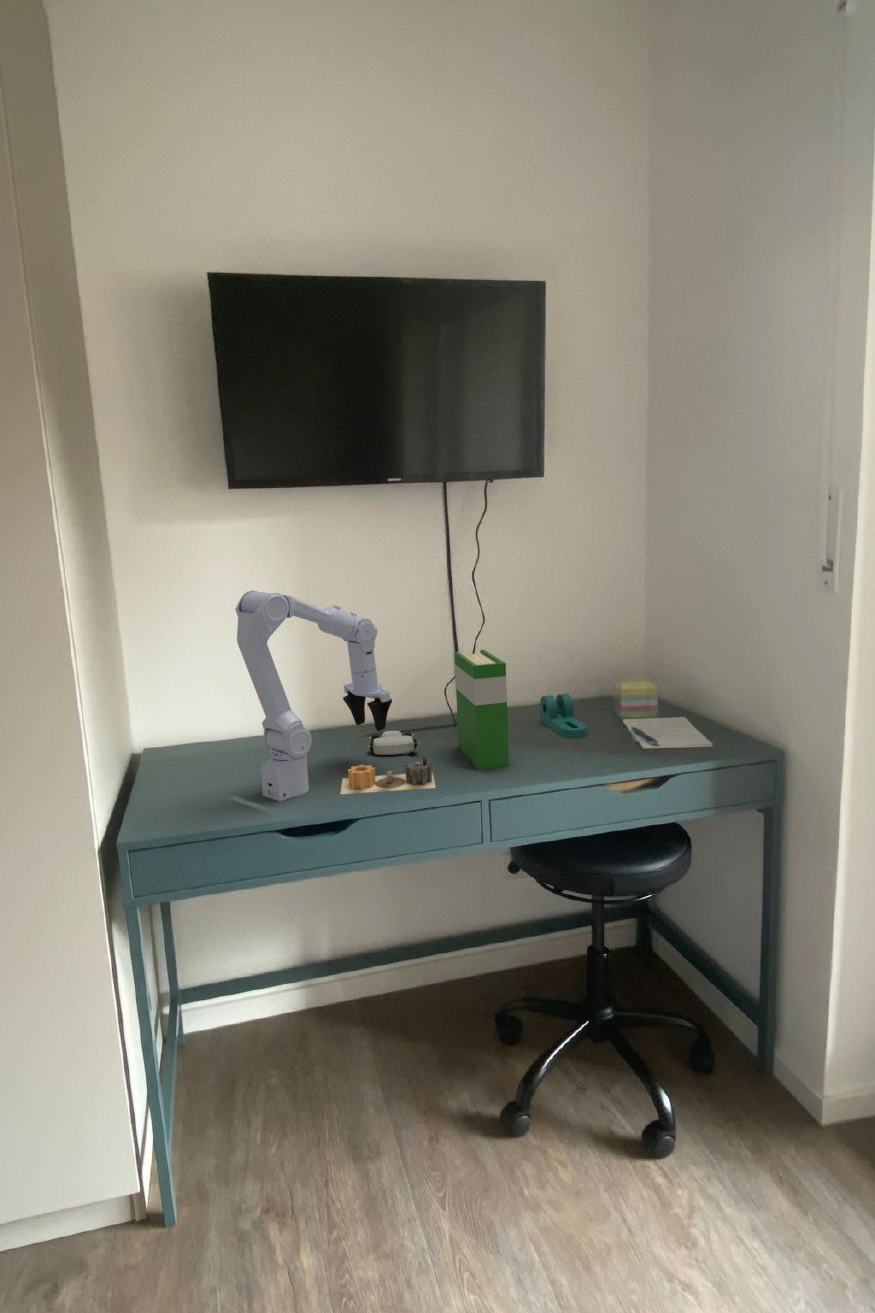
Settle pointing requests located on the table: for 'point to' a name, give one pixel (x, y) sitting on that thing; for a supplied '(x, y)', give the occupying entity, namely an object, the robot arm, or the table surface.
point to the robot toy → (393, 743)
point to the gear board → (398, 780)
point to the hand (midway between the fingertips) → (370, 726)
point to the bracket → (561, 716)
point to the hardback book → (482, 709)
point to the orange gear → (361, 776)
